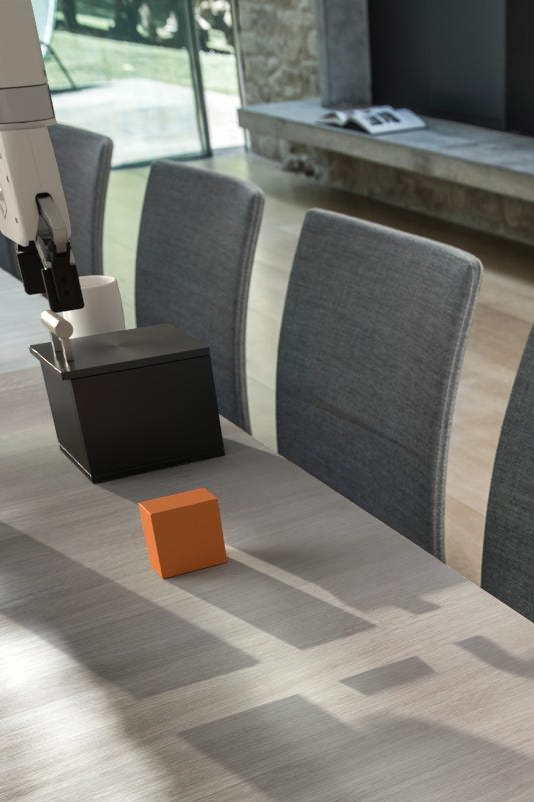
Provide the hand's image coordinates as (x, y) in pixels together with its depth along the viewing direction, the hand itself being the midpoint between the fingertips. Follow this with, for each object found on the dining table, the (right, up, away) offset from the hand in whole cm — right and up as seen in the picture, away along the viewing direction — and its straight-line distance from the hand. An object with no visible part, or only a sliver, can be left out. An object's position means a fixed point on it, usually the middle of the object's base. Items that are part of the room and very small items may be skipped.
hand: (54, 301), depth 115 cm
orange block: (+17, -28, -13) cm, 35 cm away
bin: (+5, -12, +12) cm, 18 cm away
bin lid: (+5, -3, +6) cm, 8 cm away
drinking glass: (-2, -4, +25) cm, 26 cm away
